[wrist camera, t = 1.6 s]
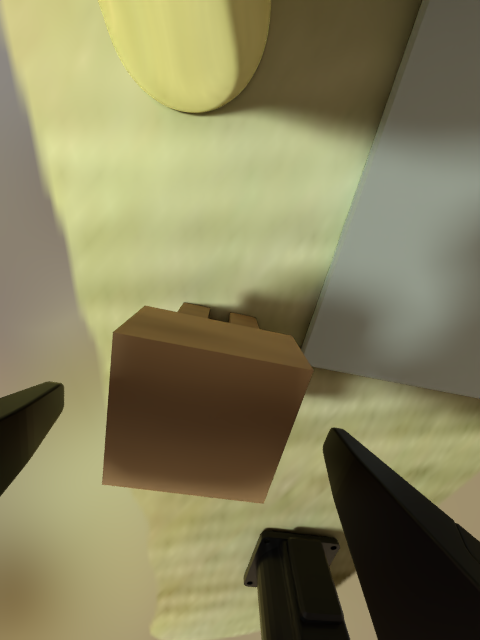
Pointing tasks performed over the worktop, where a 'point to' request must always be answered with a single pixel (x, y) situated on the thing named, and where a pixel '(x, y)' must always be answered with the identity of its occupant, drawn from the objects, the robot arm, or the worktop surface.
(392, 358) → the rubber mat
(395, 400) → the worktop surface
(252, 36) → the beer glass
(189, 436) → the walnut stool
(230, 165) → the worktop surface
